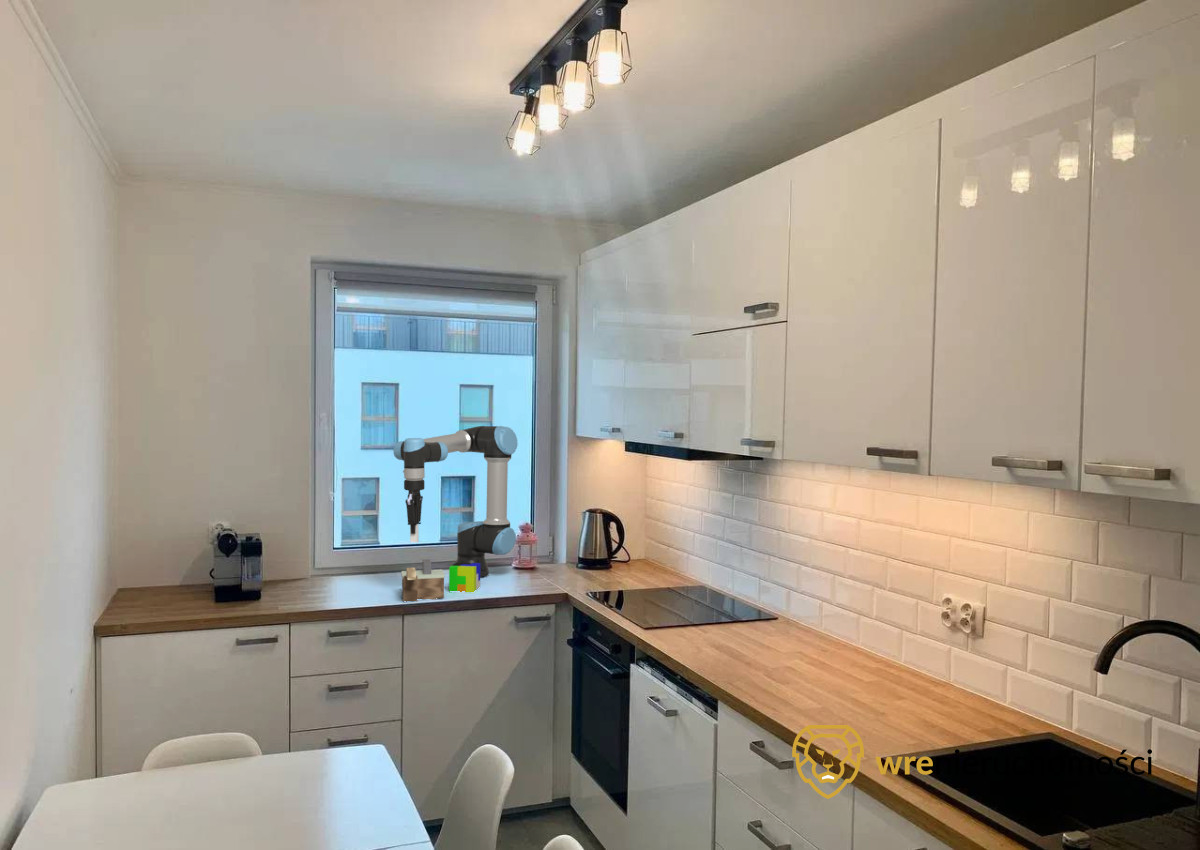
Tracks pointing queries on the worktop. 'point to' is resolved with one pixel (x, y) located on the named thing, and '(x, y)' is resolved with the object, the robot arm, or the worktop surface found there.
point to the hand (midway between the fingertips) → (414, 541)
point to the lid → (427, 571)
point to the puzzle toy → (464, 577)
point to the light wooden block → (411, 573)
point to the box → (422, 588)
